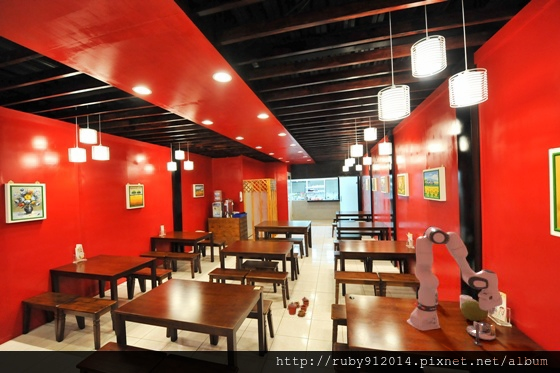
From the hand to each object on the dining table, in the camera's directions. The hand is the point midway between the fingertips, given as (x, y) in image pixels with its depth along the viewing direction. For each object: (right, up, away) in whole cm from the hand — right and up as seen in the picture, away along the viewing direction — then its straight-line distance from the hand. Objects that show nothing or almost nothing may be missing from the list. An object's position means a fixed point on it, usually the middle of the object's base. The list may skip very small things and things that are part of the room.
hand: (491, 313), depth 173 cm
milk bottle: (-16, -13, +41) cm, 46 cm away
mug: (+7, -12, +30) cm, 33 cm away
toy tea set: (-131, -17, +38) cm, 137 cm away
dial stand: (-21, -13, -13) cm, 28 cm away
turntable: (-11, -11, -4) cm, 16 cm away
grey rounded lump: (-7, -10, -3) cm, 13 cm away
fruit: (-1, -13, +14) cm, 19 cm away
